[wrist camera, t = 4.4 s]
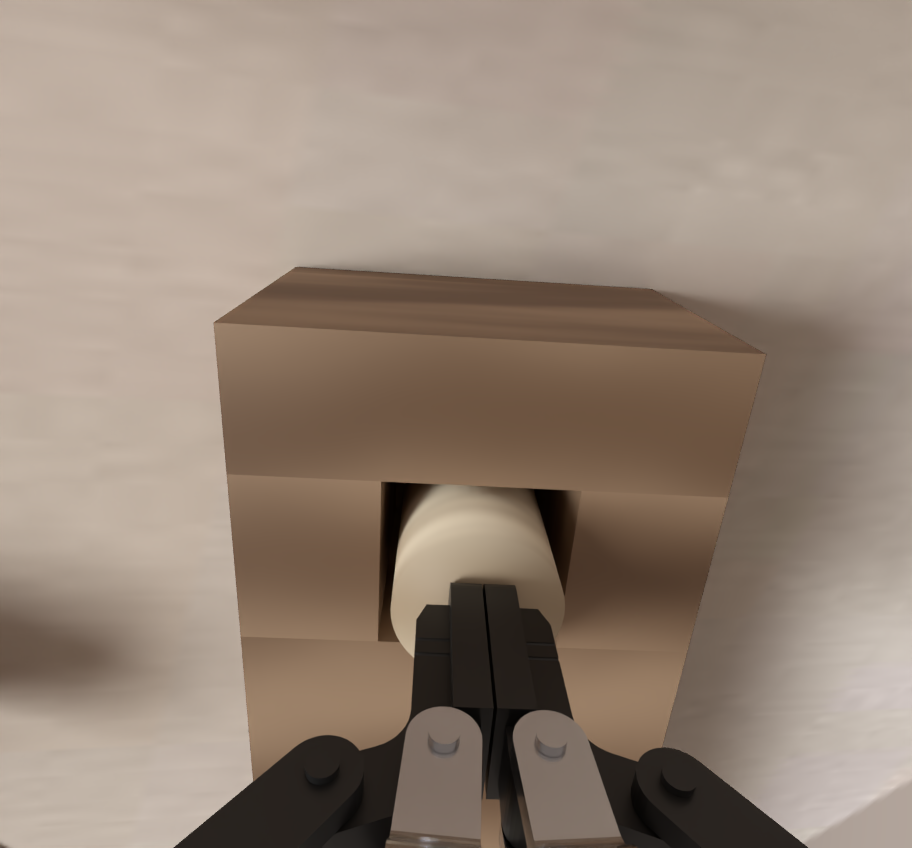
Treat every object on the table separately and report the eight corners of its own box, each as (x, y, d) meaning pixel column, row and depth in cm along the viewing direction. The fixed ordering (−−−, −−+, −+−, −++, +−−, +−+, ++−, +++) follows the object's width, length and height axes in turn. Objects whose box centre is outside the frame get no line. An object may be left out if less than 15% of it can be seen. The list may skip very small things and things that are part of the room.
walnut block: (295, 266, 20) (213, 322, 13) (651, 289, 21) (766, 354, 14) (314, 832, 31) (275, 1039, 24) (550, 837, 32) (583, 1041, 24)
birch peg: (408, 416, 20) (392, 533, 13) (533, 423, 20) (576, 541, 13) (404, 524, 21) (388, 676, 15) (520, 529, 21) (553, 681, 15)
